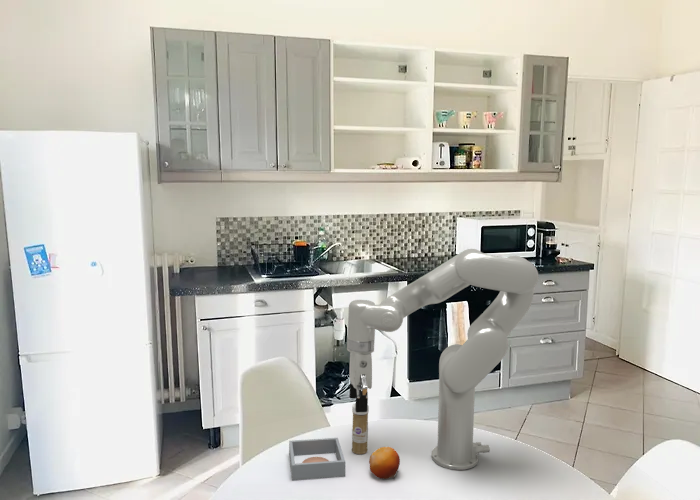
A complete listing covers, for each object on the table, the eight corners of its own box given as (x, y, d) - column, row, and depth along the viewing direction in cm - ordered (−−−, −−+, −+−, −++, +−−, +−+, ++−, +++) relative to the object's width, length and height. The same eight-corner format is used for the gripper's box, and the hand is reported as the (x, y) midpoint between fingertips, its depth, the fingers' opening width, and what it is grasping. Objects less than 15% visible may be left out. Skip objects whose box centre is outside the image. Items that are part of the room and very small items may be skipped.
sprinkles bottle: (351, 454, 145) (352, 408, 144) (352, 447, 150) (352, 401, 148) (367, 455, 145) (368, 408, 144) (368, 447, 150) (368, 402, 148)
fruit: (405, 479, 130) (389, 451, 130) (378, 491, 132) (362, 464, 132) (408, 463, 138) (393, 437, 138) (382, 475, 140) (367, 449, 140)
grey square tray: (337, 451, 147) (337, 437, 147) (345, 476, 134) (345, 461, 133) (289, 454, 145) (289, 440, 144) (291, 480, 132) (291, 465, 131)
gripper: (380, 354, 137) (377, 417, 138) (367, 336, 154) (365, 392, 155) (352, 354, 135) (349, 418, 137) (342, 336, 152) (340, 393, 154)
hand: (358, 404), depth 146 cm, fingers open, 9 cm apart
